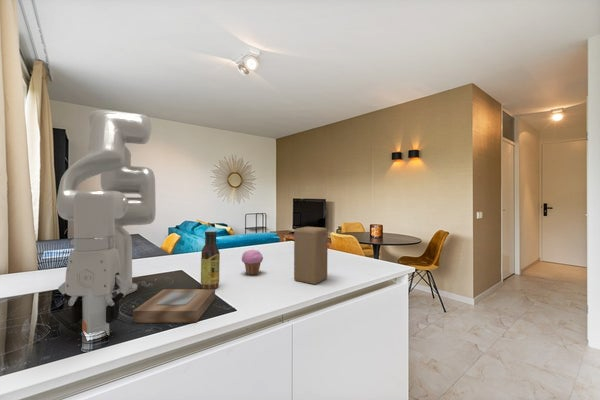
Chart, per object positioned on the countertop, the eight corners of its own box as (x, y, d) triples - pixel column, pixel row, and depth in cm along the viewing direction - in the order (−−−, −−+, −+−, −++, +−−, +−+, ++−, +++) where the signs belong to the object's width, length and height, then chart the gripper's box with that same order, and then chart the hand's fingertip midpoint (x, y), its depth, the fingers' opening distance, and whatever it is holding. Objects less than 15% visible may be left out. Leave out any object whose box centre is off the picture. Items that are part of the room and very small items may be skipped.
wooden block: (328, 278, 107) (328, 227, 107) (315, 285, 99) (316, 230, 99) (306, 274, 113) (306, 226, 112) (293, 280, 104) (293, 228, 104)
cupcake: (264, 275, 111) (264, 251, 110) (242, 277, 108) (242, 252, 108) (261, 270, 119) (261, 247, 119) (240, 271, 117) (240, 248, 117)
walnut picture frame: (132, 322, 69) (132, 309, 69) (163, 298, 85) (163, 288, 85) (196, 322, 70) (196, 310, 70) (215, 298, 86) (215, 288, 86)
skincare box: (81, 333, 64) (81, 282, 64) (103, 327, 67) (103, 278, 67) (86, 343, 60) (86, 288, 60) (110, 335, 63) (109, 283, 63)
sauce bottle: (213, 291, 93) (213, 232, 92) (197, 289, 94) (196, 232, 94) (222, 284, 99) (222, 230, 99) (207, 283, 100) (207, 229, 100)
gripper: (42, 247, 59) (42, 328, 59) (122, 247, 59) (122, 328, 60) (70, 241, 67) (71, 313, 67) (142, 241, 67) (142, 313, 67)
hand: (95, 320), depth 63 cm, fingers closed on skincare box, 7 cm apart
